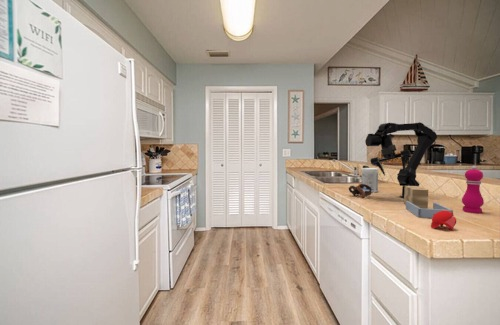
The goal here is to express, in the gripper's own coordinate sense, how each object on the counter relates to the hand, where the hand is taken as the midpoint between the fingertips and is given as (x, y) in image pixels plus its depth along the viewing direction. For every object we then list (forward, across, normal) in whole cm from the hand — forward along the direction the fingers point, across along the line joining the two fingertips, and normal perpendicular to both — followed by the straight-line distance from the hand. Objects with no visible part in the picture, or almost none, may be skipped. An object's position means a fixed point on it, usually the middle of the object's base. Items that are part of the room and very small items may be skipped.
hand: (394, 173), depth 133 cm
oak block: (+18, +5, -3) cm, 19 cm away
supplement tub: (+1, -20, +27) cm, 33 cm away
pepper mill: (+24, +25, +1) cm, 34 cm away
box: (+24, +10, -15) cm, 30 cm away
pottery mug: (+8, -21, +6) cm, 23 cm away
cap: (+31, +14, -34) cm, 48 cm away
